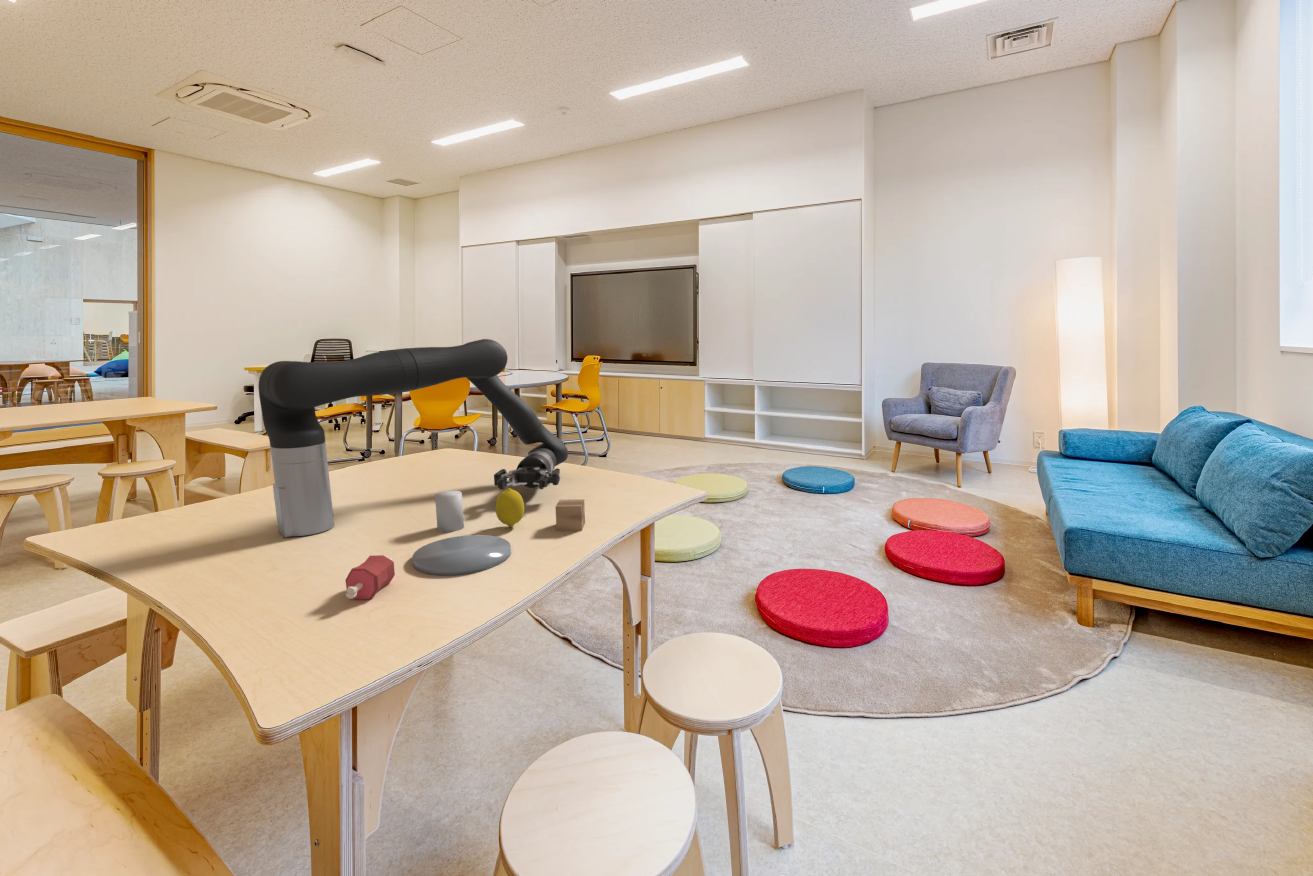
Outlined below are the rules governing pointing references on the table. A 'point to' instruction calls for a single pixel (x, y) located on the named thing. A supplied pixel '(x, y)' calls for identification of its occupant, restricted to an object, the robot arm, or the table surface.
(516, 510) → the lemon
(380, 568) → the meat
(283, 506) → the robot arm
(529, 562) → the table surface
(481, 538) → the slate dish
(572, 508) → the walnut block
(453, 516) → the grey cylinder
